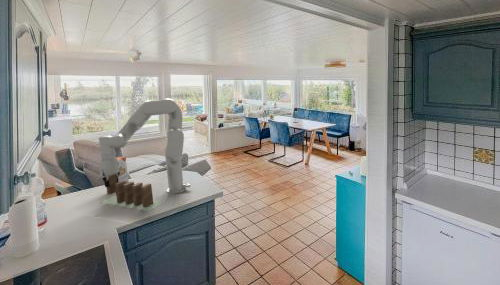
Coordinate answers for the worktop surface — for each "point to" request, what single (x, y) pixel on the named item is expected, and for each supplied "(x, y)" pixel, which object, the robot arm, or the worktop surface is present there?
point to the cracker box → (122, 169)
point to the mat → (114, 202)
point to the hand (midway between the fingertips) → (112, 185)
